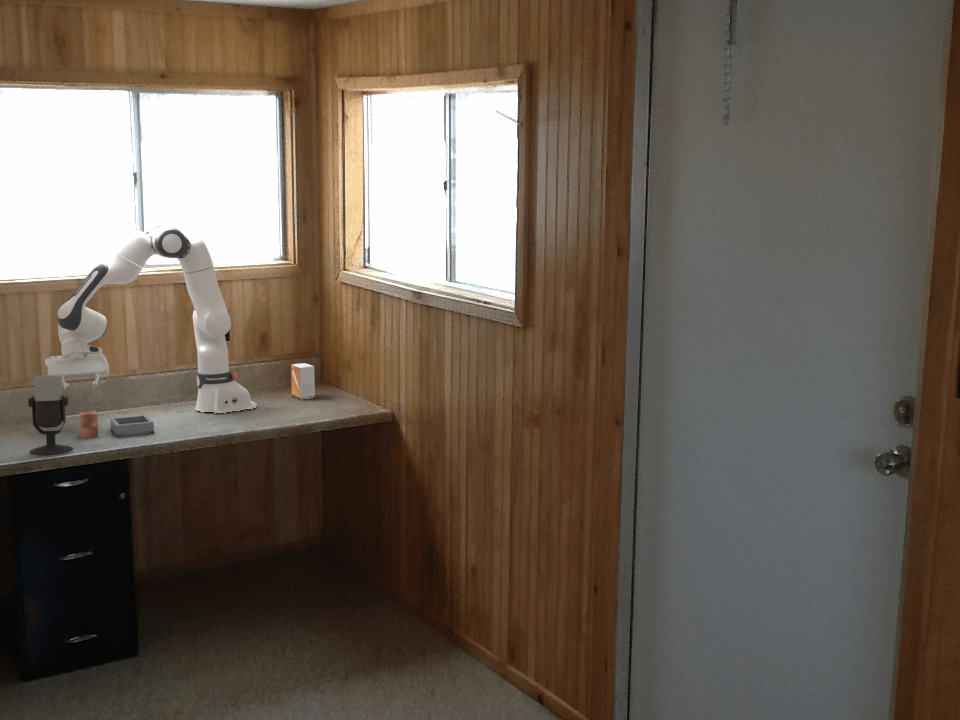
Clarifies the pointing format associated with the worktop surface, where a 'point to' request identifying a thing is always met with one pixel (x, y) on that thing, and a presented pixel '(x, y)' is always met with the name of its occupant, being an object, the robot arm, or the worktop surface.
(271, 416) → the worktop surface
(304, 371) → the small box
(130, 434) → the bin
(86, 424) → the red block
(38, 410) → the microphone
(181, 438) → the worktop surface
